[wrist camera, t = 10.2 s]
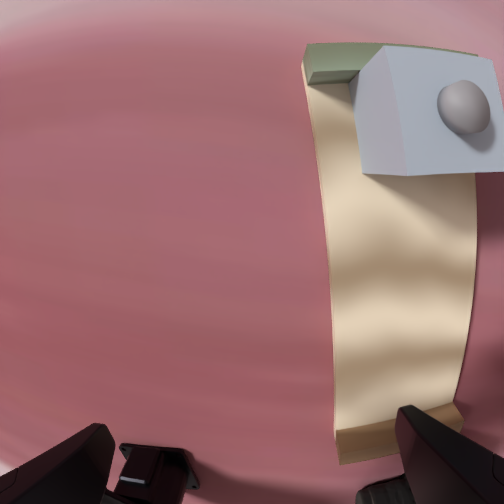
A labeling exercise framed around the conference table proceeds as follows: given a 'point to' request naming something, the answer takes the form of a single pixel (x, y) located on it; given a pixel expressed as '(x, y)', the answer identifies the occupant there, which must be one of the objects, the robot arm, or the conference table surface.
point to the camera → (387, 493)
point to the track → (388, 269)
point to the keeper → (428, 113)
